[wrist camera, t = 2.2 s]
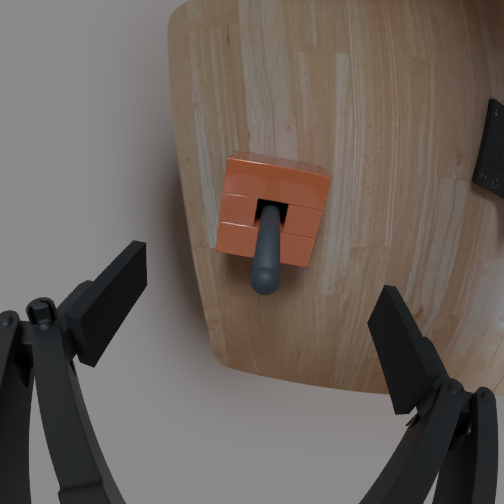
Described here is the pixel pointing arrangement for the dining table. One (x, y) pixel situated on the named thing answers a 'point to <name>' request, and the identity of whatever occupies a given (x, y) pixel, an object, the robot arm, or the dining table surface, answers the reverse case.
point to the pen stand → (274, 189)
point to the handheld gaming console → (492, 151)
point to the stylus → (267, 250)
